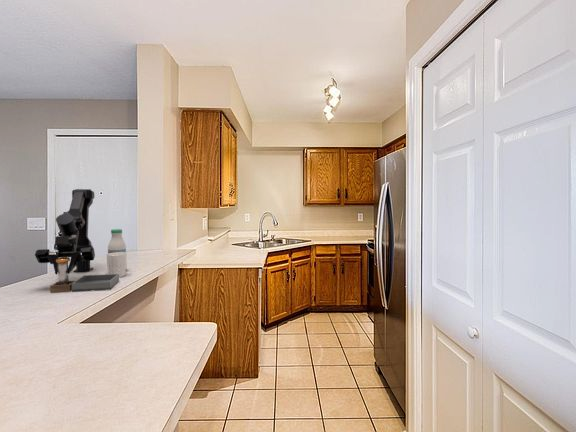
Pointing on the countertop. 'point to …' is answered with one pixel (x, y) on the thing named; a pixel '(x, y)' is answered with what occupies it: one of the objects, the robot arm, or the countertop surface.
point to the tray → (95, 282)
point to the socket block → (61, 287)
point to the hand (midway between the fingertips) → (62, 273)
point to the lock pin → (63, 271)
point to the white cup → (116, 263)
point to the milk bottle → (116, 242)
